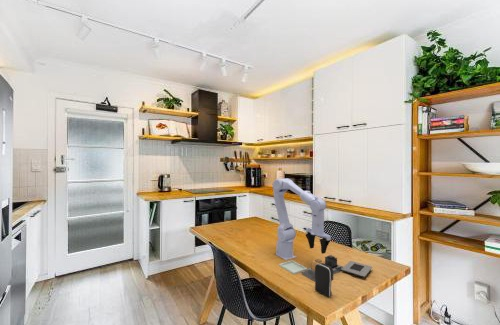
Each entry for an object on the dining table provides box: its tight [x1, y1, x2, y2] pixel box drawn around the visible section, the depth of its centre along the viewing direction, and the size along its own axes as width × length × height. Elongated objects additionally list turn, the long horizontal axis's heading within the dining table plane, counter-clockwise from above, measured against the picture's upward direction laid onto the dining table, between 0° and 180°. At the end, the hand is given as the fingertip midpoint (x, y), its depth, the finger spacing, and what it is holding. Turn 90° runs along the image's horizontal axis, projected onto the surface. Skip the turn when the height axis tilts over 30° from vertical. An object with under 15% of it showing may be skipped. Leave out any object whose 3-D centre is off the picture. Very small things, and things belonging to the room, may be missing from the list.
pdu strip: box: [301, 254, 344, 282], centre depth 113 cm, size 22×8×7 cm, turn 122°
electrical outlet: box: [341, 260, 373, 278], centre depth 114 cm, size 13×10×2 cm
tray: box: [278, 259, 308, 275], centre depth 117 cm, size 11×9×1 cm
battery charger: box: [314, 263, 334, 298], centre depth 95 cm, size 7×4×11 cm, turn 37°
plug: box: [311, 258, 325, 271], centre depth 111 cm, size 4×4×6 cm
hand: (317, 250), depth 116 cm, fingers open, 7 cm apart
